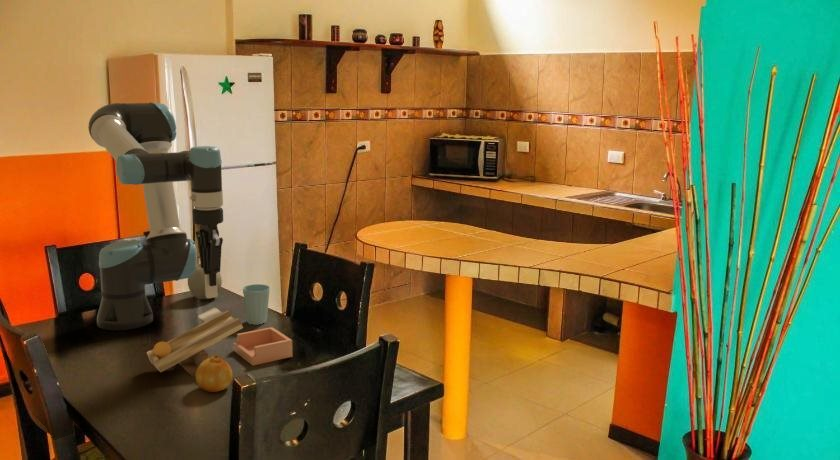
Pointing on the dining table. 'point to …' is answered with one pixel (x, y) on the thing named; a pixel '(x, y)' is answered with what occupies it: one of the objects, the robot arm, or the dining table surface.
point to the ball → (162, 349)
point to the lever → (197, 338)
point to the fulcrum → (194, 362)
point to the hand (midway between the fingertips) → (211, 296)
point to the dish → (263, 346)
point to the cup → (256, 303)
